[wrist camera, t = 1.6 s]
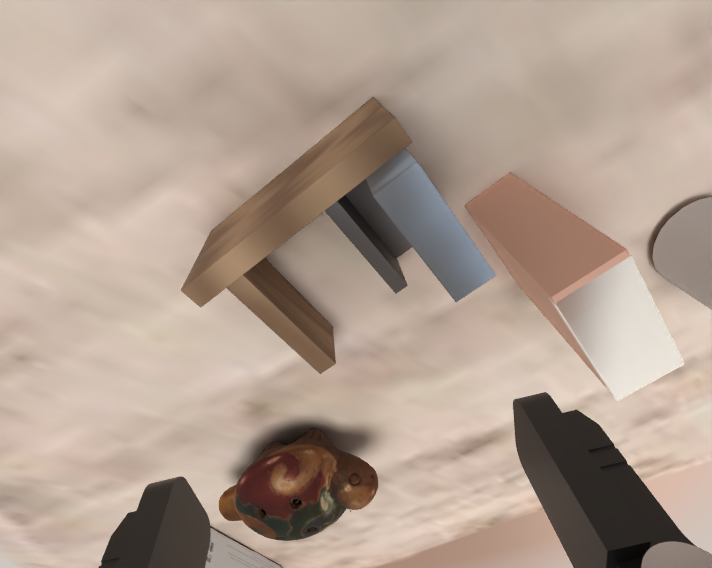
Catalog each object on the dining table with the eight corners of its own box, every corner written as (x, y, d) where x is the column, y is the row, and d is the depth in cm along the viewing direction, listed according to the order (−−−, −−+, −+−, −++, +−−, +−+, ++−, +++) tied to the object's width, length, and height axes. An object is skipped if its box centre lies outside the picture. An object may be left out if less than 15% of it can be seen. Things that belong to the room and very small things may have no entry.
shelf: (372, 97, 30) (407, 128, 20) (466, 232, 35) (533, 313, 25) (211, 231, 33) (166, 319, 23) (319, 336, 39) (322, 446, 28)
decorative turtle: (386, 453, 47) (400, 526, 40) (258, 504, 49) (249, 583, 42) (345, 390, 42) (353, 460, 35) (206, 450, 44) (186, 527, 37)
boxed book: (510, 172, 33) (627, 248, 21) (561, 257, 37) (684, 363, 25) (464, 205, 34) (550, 297, 22) (517, 285, 38) (616, 401, 26)
